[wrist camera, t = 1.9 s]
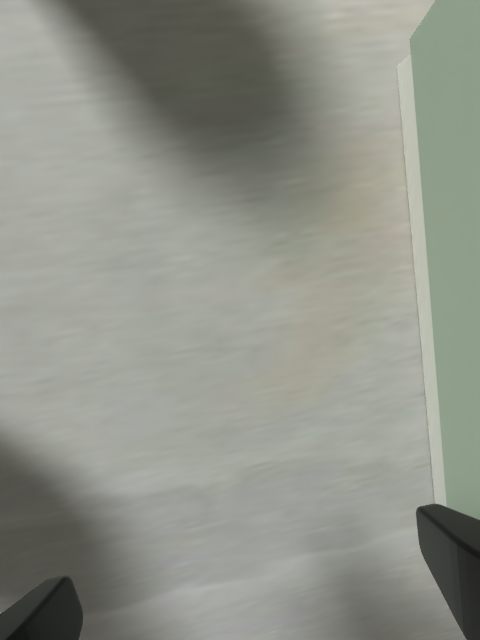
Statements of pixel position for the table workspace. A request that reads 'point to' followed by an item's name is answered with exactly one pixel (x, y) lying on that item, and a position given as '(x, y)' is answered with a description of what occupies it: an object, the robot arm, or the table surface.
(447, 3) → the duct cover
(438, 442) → the cable duct
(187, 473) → the table surface
